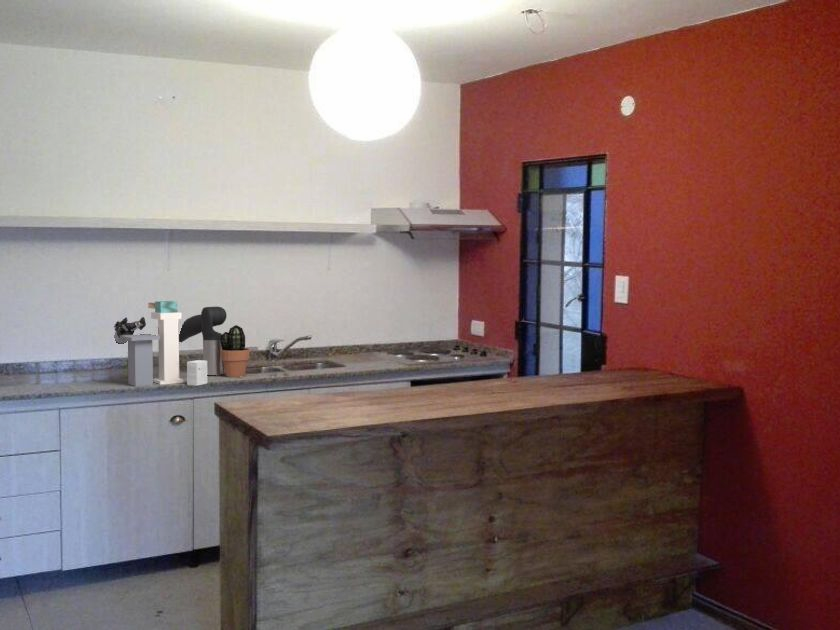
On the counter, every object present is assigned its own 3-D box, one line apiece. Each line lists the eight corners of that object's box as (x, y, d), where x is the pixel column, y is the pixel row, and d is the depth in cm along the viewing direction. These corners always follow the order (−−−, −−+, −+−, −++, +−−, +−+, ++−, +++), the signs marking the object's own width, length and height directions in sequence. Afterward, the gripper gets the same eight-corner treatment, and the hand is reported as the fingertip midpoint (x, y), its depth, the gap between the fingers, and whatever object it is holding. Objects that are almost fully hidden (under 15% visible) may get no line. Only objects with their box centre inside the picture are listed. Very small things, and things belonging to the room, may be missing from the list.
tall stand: (173, 379, 395) (173, 311, 393) (183, 382, 388) (182, 312, 386) (151, 382, 388) (150, 312, 386) (160, 384, 381) (159, 313, 378)
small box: (197, 382, 387) (197, 359, 387) (207, 383, 385) (207, 360, 385) (186, 385, 380) (186, 361, 379) (197, 385, 378) (196, 362, 377)
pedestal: (148, 381, 389) (148, 334, 387) (160, 385, 379) (160, 336, 378) (120, 384, 380) (119, 335, 379) (132, 387, 371) (131, 337, 369)
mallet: (159, 310, 401) (158, 299, 401) (177, 312, 386) (177, 301, 386) (142, 310, 396) (142, 300, 396) (160, 313, 381) (160, 302, 381)
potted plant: (248, 374, 417) (247, 323, 416) (251, 377, 404) (251, 325, 403) (219, 375, 413) (219, 323, 411) (222, 378, 400) (221, 326, 398)
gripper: (139, 339, 427) (150, 325, 416) (111, 340, 418) (122, 326, 407) (136, 326, 430) (147, 311, 419) (108, 327, 420) (119, 312, 409)
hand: (135, 318), depth 413 cm, fingers open, 8 cm apart
